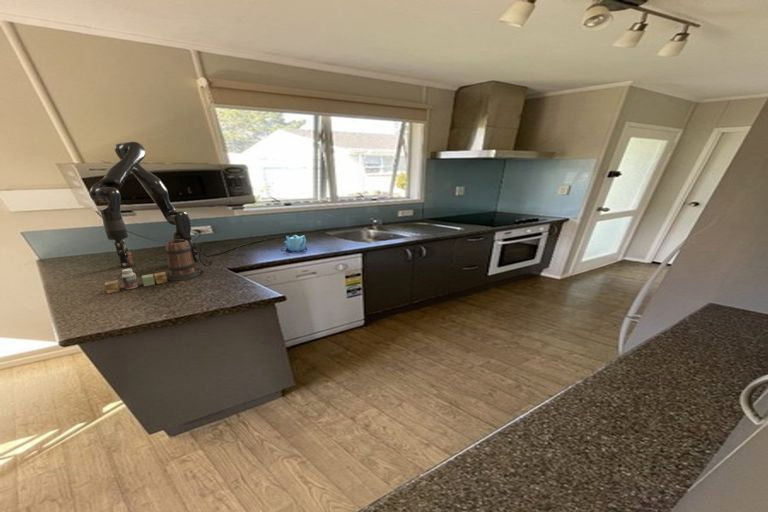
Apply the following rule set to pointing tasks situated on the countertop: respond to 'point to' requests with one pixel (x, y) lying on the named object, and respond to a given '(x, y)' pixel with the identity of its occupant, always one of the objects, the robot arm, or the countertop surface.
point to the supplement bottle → (129, 260)
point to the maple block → (160, 277)
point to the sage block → (148, 280)
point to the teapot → (295, 243)
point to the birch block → (112, 286)
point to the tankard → (182, 260)
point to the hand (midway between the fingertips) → (124, 260)
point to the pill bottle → (129, 279)
